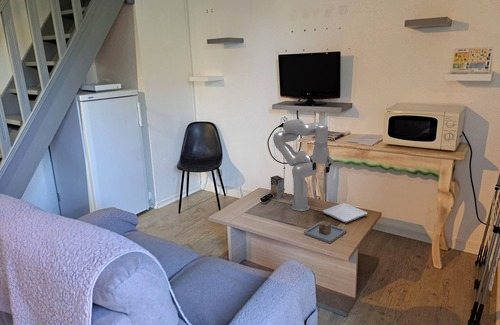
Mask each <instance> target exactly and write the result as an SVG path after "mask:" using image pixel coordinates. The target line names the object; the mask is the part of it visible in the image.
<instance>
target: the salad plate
mask: <svg viewBox="0 0 500 325" xmlns="http://www.w3.org/2000/svg"><path fill="white" fill-rule="evenodd" d="M322 213H324V214H325V215H328V216H330V217H331V218H334V219H336V220H338V221H340V222H343V223H349V222H351V221H354V220H357V219H359V218H361V217H364V216H366V215H367V214H368V212H367V211H365V210H364V209H361V208H358V207H356V206H353V205H351V204H348V203H346V202H343V203H340V204H336V205H334V206H331V207H327V208H325V209H322Z"/></svg>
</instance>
